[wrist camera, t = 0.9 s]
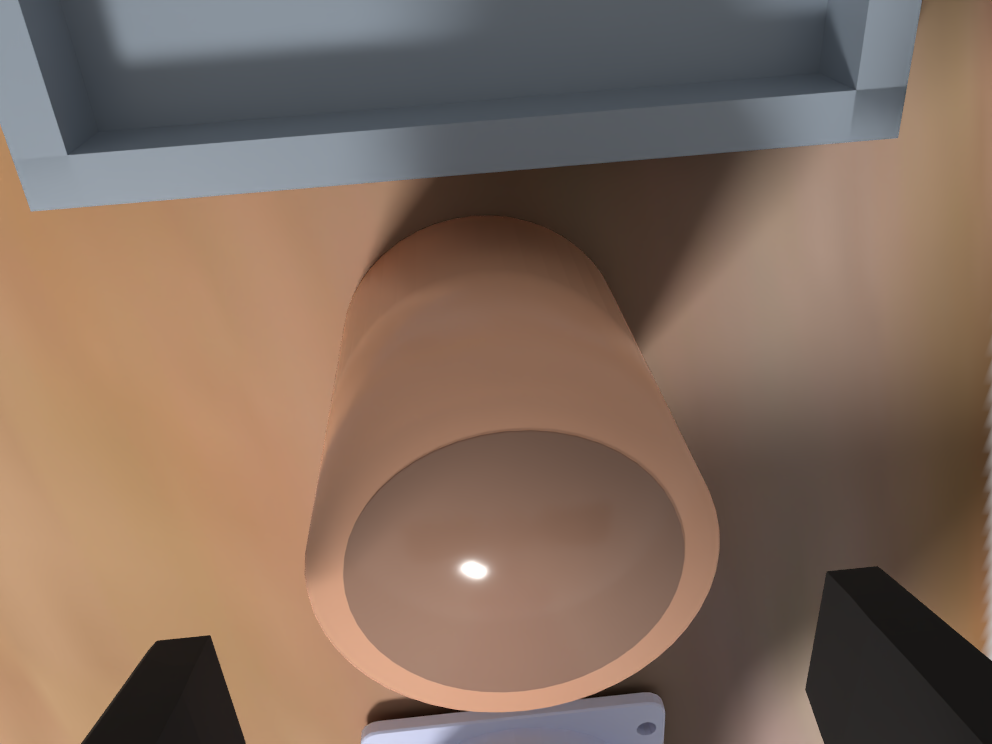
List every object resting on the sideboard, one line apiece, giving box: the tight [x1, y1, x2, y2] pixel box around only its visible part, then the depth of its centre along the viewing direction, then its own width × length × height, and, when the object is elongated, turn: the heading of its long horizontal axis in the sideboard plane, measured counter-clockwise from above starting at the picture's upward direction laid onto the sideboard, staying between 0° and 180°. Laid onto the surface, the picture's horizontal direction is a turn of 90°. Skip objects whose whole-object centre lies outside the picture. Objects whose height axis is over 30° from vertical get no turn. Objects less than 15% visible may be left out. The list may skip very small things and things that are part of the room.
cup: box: [305, 216, 720, 712], centre depth 14 cm, size 6×6×6 cm
